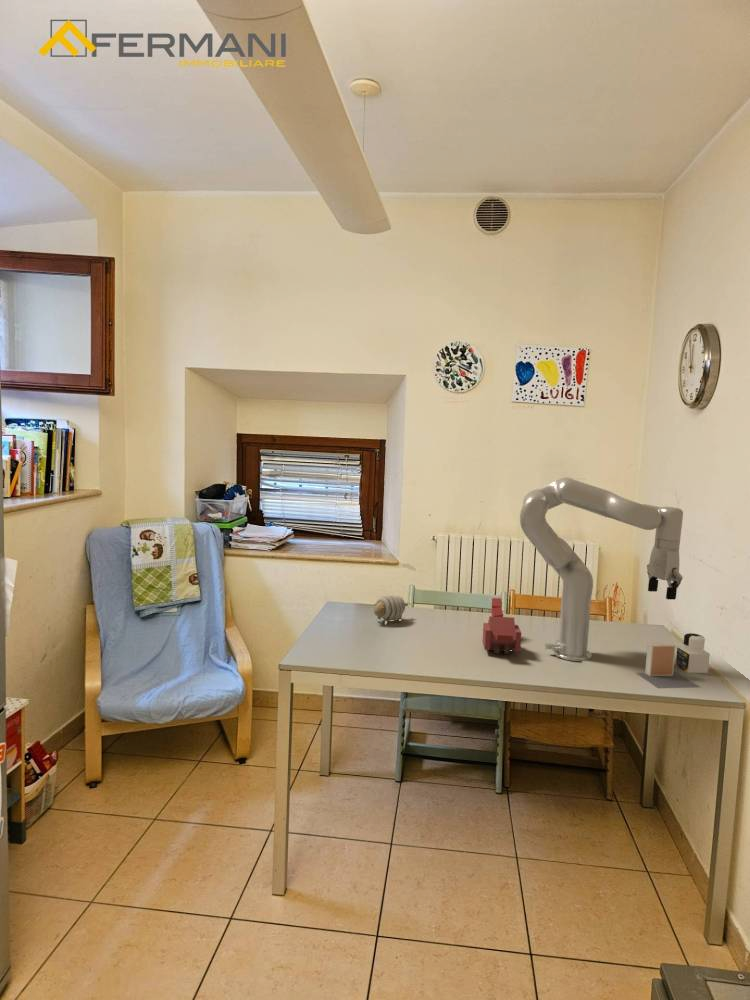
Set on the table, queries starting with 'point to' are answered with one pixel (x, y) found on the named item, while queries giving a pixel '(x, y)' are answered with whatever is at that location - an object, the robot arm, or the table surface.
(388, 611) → the toy sheep
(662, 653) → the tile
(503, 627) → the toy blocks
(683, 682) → the mat
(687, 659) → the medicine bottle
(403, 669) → the table surface
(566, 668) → the table surface
